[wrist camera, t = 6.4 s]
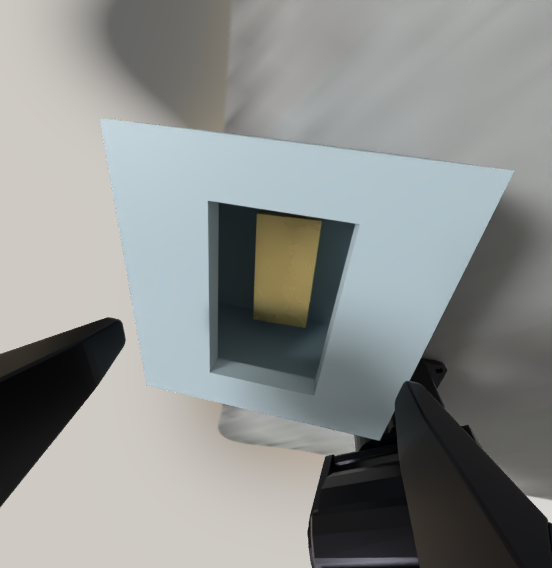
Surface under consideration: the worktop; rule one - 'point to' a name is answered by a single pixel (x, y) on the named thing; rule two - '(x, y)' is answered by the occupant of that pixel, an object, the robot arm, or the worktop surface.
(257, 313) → the tall tan wooden block
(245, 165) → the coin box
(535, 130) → the worktop surface
